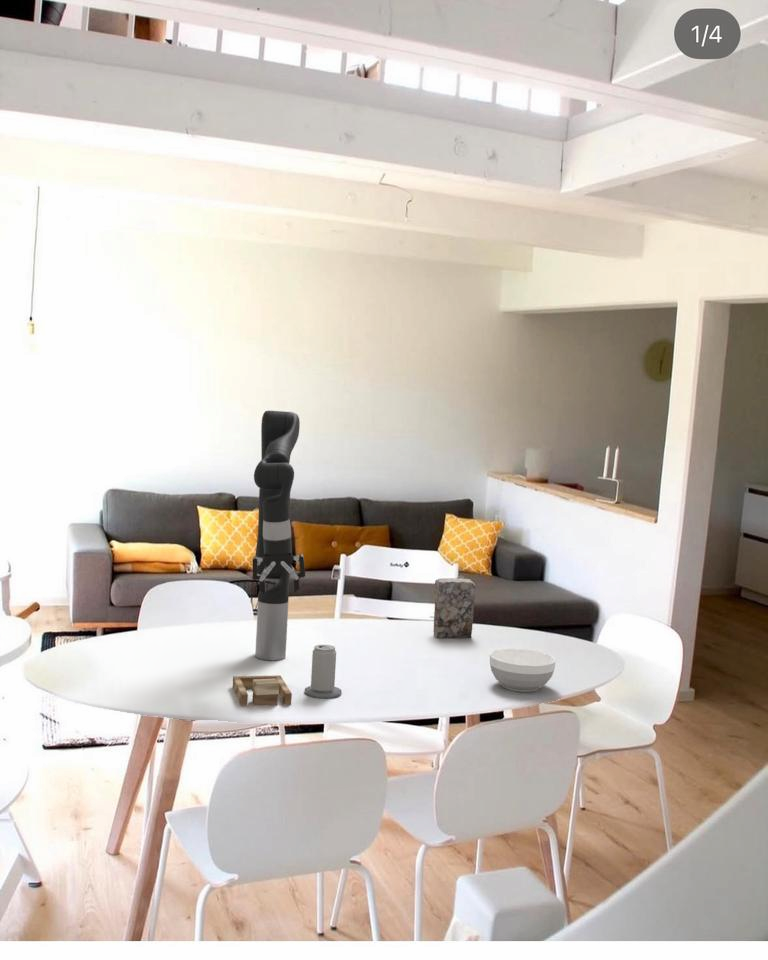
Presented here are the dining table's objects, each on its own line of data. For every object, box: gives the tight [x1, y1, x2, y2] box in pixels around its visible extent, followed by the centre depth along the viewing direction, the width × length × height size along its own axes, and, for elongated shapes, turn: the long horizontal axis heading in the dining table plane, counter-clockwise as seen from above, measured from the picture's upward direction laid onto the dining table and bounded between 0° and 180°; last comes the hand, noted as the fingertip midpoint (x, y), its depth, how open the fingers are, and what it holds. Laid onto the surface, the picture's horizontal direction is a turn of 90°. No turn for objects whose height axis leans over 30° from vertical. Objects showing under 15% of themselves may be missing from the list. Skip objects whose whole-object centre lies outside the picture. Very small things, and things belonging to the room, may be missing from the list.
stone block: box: [433, 577, 477, 639], centre depth 351 cm, size 13×7×20 cm, turn 109°
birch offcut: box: [251, 678, 279, 695], centre depth 265 cm, size 4×6×3 cm, turn 111°
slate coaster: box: [304, 685, 343, 700], centre depth 277 cm, size 10×10×1 cm
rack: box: [232, 674, 293, 707], centre depth 271 cm, size 17×13×3 cm
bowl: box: [489, 648, 557, 693], centre depth 294 cm, size 19×19×9 cm
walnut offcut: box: [252, 691, 279, 707], centre depth 265 cm, size 4×6×3 cm, turn 104°
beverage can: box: [310, 644, 337, 693], centre depth 276 cm, size 6×6×12 cm
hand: (279, 592), depth 279 cm, fingers open, 8 cm apart
